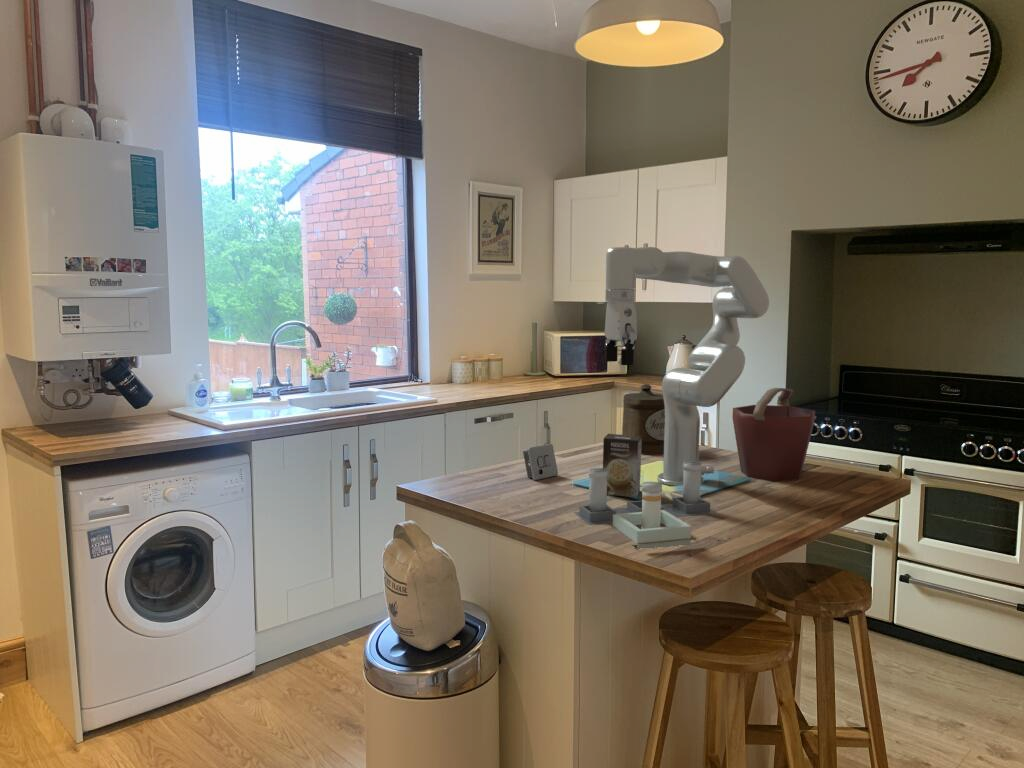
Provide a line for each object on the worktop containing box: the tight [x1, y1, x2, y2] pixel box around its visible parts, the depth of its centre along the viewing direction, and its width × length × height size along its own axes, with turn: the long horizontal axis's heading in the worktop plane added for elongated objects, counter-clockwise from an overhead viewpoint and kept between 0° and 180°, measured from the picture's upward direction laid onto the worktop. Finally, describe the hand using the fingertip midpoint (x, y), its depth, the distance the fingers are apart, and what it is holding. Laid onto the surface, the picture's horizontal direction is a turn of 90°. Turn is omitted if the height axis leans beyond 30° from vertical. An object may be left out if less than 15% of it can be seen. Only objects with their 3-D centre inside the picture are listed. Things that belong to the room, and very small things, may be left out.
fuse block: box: [573, 496, 717, 526], centre depth 182 cm, size 32×10×4 cm, turn 106°
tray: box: [612, 510, 692, 549], centre depth 168 cm, size 12×12×4 cm
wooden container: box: [621, 383, 665, 455], centre depth 256 cm, size 15×15×22 cm
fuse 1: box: [588, 467, 608, 513], centre depth 177 cm, size 4×4×11 cm
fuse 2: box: [682, 461, 703, 504], centre depth 184 cm, size 4×4×11 cm
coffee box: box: [602, 433, 642, 498], centre depth 198 cm, size 9×6×16 cm
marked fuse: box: [640, 481, 663, 529], centre depth 167 cm, size 4×4×11 cm
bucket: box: [732, 387, 816, 482], centre depth 223 cm, size 24×22×25 cm
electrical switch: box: [522, 443, 559, 481], centre depth 221 cm, size 9×5×9 cm, turn 131°
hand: (619, 363), depth 200 cm, fingers open, 9 cm apart
